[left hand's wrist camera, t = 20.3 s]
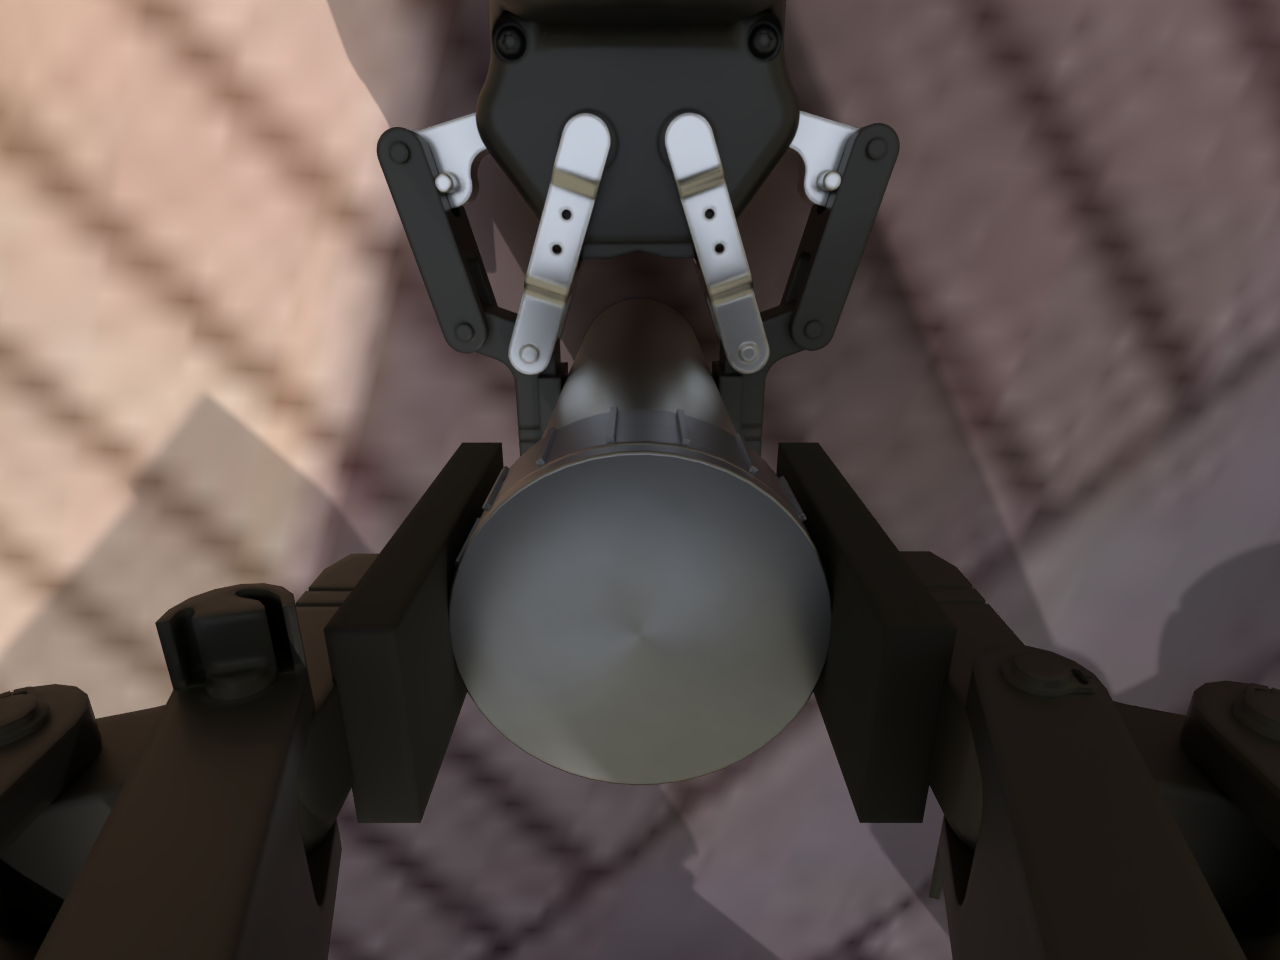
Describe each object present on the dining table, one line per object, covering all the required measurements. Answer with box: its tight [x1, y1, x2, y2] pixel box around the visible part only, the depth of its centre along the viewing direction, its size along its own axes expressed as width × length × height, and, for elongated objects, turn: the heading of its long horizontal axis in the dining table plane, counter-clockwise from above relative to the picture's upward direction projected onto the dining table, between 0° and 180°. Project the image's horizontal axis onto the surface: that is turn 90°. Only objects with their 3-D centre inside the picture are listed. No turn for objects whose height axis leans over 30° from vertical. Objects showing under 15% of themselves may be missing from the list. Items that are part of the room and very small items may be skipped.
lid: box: [448, 406, 832, 785], centre depth 11 cm, size 6×6×2 cm
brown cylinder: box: [542, 298, 737, 439], centre depth 19 cm, size 5×5×19 cm
